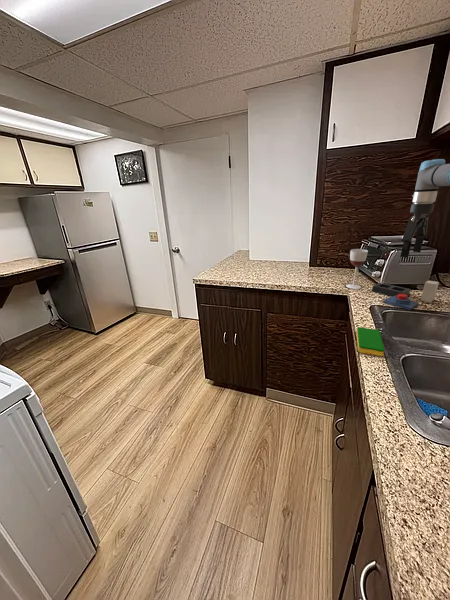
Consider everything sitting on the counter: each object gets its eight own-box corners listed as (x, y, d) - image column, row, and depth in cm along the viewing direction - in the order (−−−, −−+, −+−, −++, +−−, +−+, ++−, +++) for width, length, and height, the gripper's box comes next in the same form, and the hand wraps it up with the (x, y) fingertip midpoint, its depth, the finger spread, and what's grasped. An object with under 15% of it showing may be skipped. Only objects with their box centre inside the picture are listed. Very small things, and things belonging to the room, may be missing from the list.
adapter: (409, 294, 123) (410, 289, 121) (402, 298, 119) (403, 293, 117) (379, 287, 133) (380, 282, 132) (371, 291, 129) (373, 285, 128)
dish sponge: (378, 335, 90) (379, 329, 89) (383, 356, 78) (384, 350, 77) (356, 332, 93) (357, 326, 92) (358, 352, 81) (359, 346, 80)
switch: (407, 298, 112) (408, 295, 111) (404, 300, 110) (405, 297, 109) (398, 296, 115) (399, 293, 114) (395, 298, 113) (396, 295, 112)
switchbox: (417, 305, 111) (419, 299, 110) (410, 310, 107) (412, 303, 106) (391, 298, 120) (392, 292, 119) (383, 302, 116) (384, 296, 114)
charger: (433, 300, 115) (439, 282, 112) (430, 302, 113) (436, 284, 110) (423, 298, 118) (428, 280, 115) (420, 300, 116) (425, 282, 113)
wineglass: (347, 289, 134) (353, 252, 126) (343, 283, 142) (348, 249, 134) (363, 289, 132) (370, 252, 124) (358, 284, 140) (364, 248, 132)
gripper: (423, 201, 110) (411, 249, 119) (399, 204, 97) (388, 258, 105) (444, 201, 105) (430, 251, 113) (422, 204, 92) (408, 260, 100)
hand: (410, 254), depth 109 cm, fingers open, 13 cm apart
